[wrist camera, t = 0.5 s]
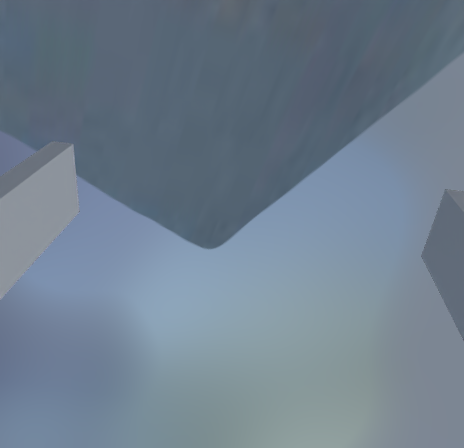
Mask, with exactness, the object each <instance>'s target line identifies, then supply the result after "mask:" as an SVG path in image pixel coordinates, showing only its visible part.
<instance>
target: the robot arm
mask: <svg viewBox="0 0 464 448" xmlns="http://www.w3.org/2000/svg"><path fill="white" fill-rule="evenodd" d="M78 213H79V201H78V190H77V180H76V170H75V159H74V149H73V144H70V143H62V142H53V141H52V142H51V143H49V144H48V145H46V146H45V147H43V148H42V149H40V150H39V151H37V152H36V153H34V154H33V155H31V156H30V157H28V158H27V159H26V160H24V161H23V162H21V163H20V164H18V165H17V166H15V167H14V168H12V169H11V170H9V171H8V172H6V173H5V174H3V175H2V176H0V299H1V298H2V297H3V296H4V295H5V294H6V293H7V292H8V291H9V289H10V288H11V287H12V286H13V285H14V284H15V283H16V282H17V281H18V279H19V278H20V277H21V276H22V275H23V274H24V273H25V272H26V271H27V270H28V268H29V267H30V266H31V265H32V264H33V263H34V262H35V261H36V260H37V258H38V257H39V256H40V255H41V254H42V253H43V252H44V251H45V250H46V248H47V247H48V246H49V245H50V244H51V243H52V241H54V240H55V238H56V237H57V236H58V235H59V234H60V233H61V232H62V231H63V230H64V229H65V227H66V226H67V225H68V224H69V223H70V222H71V221H72V220H73V218H74V217H75V216H76V215H77V214H78ZM421 257H422V259H423V261H424V263H425V264H426V266H427V269H428V271H429V272H430V274H431V277H432V279H433V281H434V282H435V284H436V286H437V288H438V291H439V293H440V294H441V297H442V299H443V300H444V303H445V305H446V307H447V308H448V310H449V312H450V314H451V316H452V318H453V320H454V322H455V324H456V326H457V328H458V330H459V332H460V334H461V336H462V338H463V340H464V191H456V190H448V189H445V192H444V195H443V198H442V200H441V203H440V206H439V208H438V211H437V214H436V217H435V220H434V222H433V225H432V228H431V231H430V233H429V236H428V239H427V242H426V244H425V247H424V250H423V253H422V256H421Z"/></svg>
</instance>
